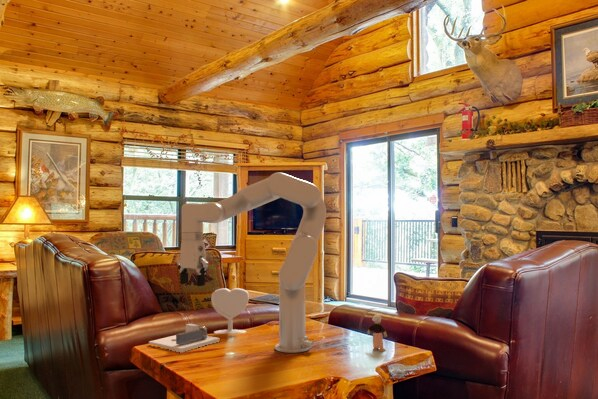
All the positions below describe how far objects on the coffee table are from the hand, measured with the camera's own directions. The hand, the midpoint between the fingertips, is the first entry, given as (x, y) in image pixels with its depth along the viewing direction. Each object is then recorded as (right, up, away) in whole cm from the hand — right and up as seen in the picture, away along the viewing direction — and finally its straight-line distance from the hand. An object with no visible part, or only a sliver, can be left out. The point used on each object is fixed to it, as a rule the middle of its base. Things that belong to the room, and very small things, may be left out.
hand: (192, 284), depth 177 cm
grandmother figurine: (+67, -23, -2) cm, 71 cm away
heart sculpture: (+10, -25, +28) cm, 39 cm away
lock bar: (-1, -22, +5) cm, 22 cm away
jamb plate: (-5, -24, +9) cm, 26 cm away
